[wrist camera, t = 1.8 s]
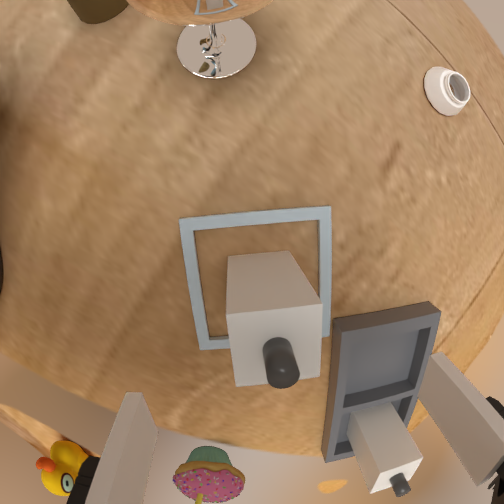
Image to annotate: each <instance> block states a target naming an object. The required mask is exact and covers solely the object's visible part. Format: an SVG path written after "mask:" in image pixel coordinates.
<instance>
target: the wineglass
mask: <svg viewBox="0 0 504 504" xmlns="http://www.w3.org/2000/svg"><path fill="white" fill-rule="evenodd" d="M273 1H274V0H126V2H127V3H128V4H129V5H131V6H132V7H133V8H134V9H136V10H137V11H139V12H140V13H142V14H144V15H146V16H148V17H150V18H153V19H155V20H158V21H161V22H165V23H169V24H175V25H182V26H186V27H185V28H184V29H183V31H182V32H181V34H180V36H179V38H178V41H177V55H178V58H179V60H180V62H181V64H182V65H183V66H184V67H185V68H186V69H187V70H188V71H189V72H191V73H192V74H194V75H197V76H199V77H203V78H208V79H220V78H225V77H229V76H232V75H234V74H236V73H238V72H240V71H241V70H243V69H244V68H245V67H246V66H247V65H248V64H249V63H250V61H251V60H252V58H253V56H254V54H255V51H256V37H255V34H254V32H253V30H252V29H251V27H250V26H249V25H248V24H247V23H246V22H245V21H243V20H242V19H240V18H243V17H246V16H248V15H250V14H253V13H255V12H257V11H259V10H260V9H262V8H264V7H265V6H267V5H268V4H270V3H271V2H273Z"/></svg>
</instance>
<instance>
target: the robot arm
mask: <svg viewBox="0 0 504 504" xmlns="http://www.w3.org/2000/svg"><path fill="white" fill-rule="evenodd" d="M1 286H2V260H1V253H0V291H1ZM417 397H418V398H419V400H420V401H421V403H422V404H423V405H424V407H425V408H426V410H427V411H428V413H429V414H430V416H431V417H432V418H433V420H434V421H435V423H436V424H437V426H438V427H439V429H440V430H441V432H442V433H443V435H444V436H445V438H446V439H447V441H448V442H449V444H450V445H451V447H452V448H453V450H454V452H455V453H456V454H457V456H458V458H459V459H460V461H461V462H462V464H463V465H464V467H465V469H466V470H467V472H468V473H469V475H470V477H471V478H472V480H473V481H474V483H475V485H476V486H479V485H481V484H482V483H484V482H486V481H487V480H489V479H490V478H491V477H492V475H493V474H494V473H495V472H497V473H498V476H497V477H496V478H495V479H494V480H493V481H492V483H491V484H490V485H489V487H488V489H490V488H491V487H492V486H493V485H494V484H495V486H494V488H493V489H494V492H493V497H492V502H491V504H504V407H503V406H502V405H501V403H500V402H499V401H497V400H496V399H494V398H492V397H490V396H489V397H488V398H485V397H484V396H483V395H482V394H481V393H480V392H479V391H478V390H477V389H476V387H475V386H474V385H473V384H472V383H471V382H470V381H469V380H468V379H467V378H466V377H465V376H464V374H463V373H462V372H461V371H460V370H459V369H458V368H457V367H456V366H455V365H454V364H453V363H452V362H451V361H450V360H449V359H448V358H447V357H446V356H445V354H444V353H443V352H439V353H435V354H432V355H430V356H429V360H428V363H427V367H426V370H425V374H424V377H423V381H422V384H421V387H420V390H419V393H418V396H417ZM157 436H158V430H157V427H156V425H155V423H154V421H153V418H152V416H151V413H150V411H149V409H148V406H147V404H146V401H145V399H144V396H143V393H142V392H126V394H125V396H124V399H123V401H122V404H121V406H120V409H119V411H118V414H117V416H116V419H115V422H114V424H113V426H112V429H111V431H110V434H109V437H108V439H107V442H106V445H105V447H104V450H103V453H102V455H101V458H99V457H94V456H89V457H88V458H87V459H86V460H85V461H84V462H83V463H82V464H81V467H80V469H79V472H78V476H77V477H76V479H75V484H74V485H73V487H72V490H71V493H70V495H69V498H68V501H67V504H143V501H144V496H145V490H146V486H147V481H148V477H149V471H150V467H151V463H152V458H153V454H154V449H155V445H156V440H157Z"/></svg>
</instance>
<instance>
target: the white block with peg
mask: <svg viewBox="0 0 504 504" xmlns="http://www.w3.org/2000/svg"><path fill="white" fill-rule="evenodd" d="M322 312H323V303H322V302H321V300H320V298H319V297H318V295H317V294H316V292H315V290H314V289H313V287H312V286H311V284H310V283H309V281H308V279H307V278H306V276H305V275H304V273H303V272H302V270H301V268H300V267H299V265H298V264H297V262H296V261H295V259H294V257H293V256H292V254H291V253H290V251H289V250H286V251H276V252H265V253H254V254H244V255H233V256H228V267H227V292H226V320H227V327H228V335H229V342H230V349H231V356H232V363H233V370H234V376H235V383H236V387H240V386H252V385H262V384H270V385H271V386H272V387H275V388H280V389H282V388H288V387H290V386H292V385H294V384H295V383H296V382H297V381H298V380H301V379H308V378H314V377H320V363H321V342H322Z"/></svg>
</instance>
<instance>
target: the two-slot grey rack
mask: <svg viewBox="0 0 504 504" xmlns="http://www.w3.org/2000/svg"><path fill="white" fill-rule="evenodd" d="M440 316H441V311H440V310H439V309H438V308H436V307H435V306H434V305H433V304H431V303H430V302H429V301H428V302H423V303H418V304H413V305H409V306H404V307H399V308H393V309H388V310H383V311H377V312H372V313H366V314H360V315H354V316H348V317H341V318H335V319H333V337H332V352H331V365H330V377H329V388H328V398H327V407H326V416H325V424H324V432H323V439H322V446H321V451H322V454H323V457H324V461H325V463H327V462H332V461H336V460H341V459H345V458H349V457H353V456H355V454H354V452H353V449H352V446H351V444H350V441H349V439H348V436H347V434H346V433H347V429H348V424H349V419H350V414H351V412H354V411H359V410H363V409H367V408H371V407H374V406H378V405H382V404H385V403H389V402H391V403H392V405H393V407H394V408H395V410H396V412H397V413H398V415H399V417H400V418H401V420H402V422H403V423H404V425H405V427H406V428H407V426H408V424H409V421H410V418H411V416H412V413H413V410H414V408H415V405H416V402H417V399H418V397H417V396H418V393H419V390H420V387H421V384H422V381H423V377H424V374H425V370H426V367H427V363H428V360H429V356H430V355H431V354H432V350H433V346H434V342H435V338H436V334H437V329H438V325H439V320H440Z"/></svg>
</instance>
